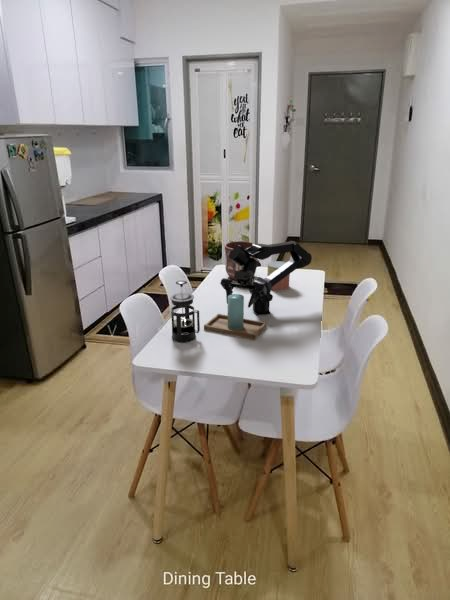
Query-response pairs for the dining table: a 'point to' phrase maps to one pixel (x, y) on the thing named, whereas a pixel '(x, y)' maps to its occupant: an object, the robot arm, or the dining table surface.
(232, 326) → the tumbler
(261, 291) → the robot arm
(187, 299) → the french press
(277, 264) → the canned food
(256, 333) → the tray
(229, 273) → the pottery
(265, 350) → the dining table surface
